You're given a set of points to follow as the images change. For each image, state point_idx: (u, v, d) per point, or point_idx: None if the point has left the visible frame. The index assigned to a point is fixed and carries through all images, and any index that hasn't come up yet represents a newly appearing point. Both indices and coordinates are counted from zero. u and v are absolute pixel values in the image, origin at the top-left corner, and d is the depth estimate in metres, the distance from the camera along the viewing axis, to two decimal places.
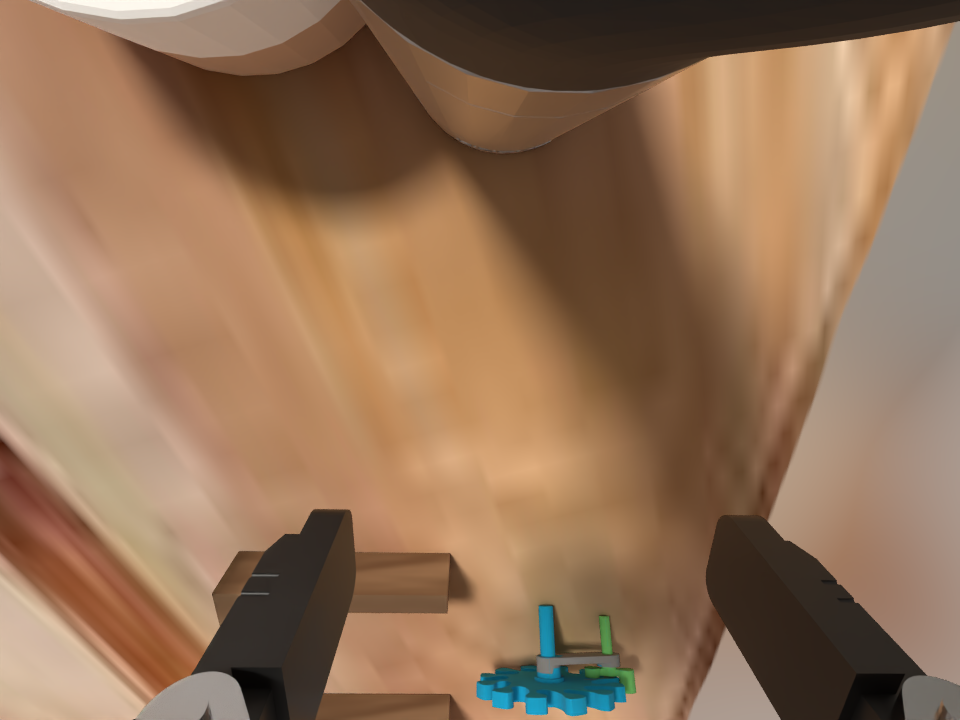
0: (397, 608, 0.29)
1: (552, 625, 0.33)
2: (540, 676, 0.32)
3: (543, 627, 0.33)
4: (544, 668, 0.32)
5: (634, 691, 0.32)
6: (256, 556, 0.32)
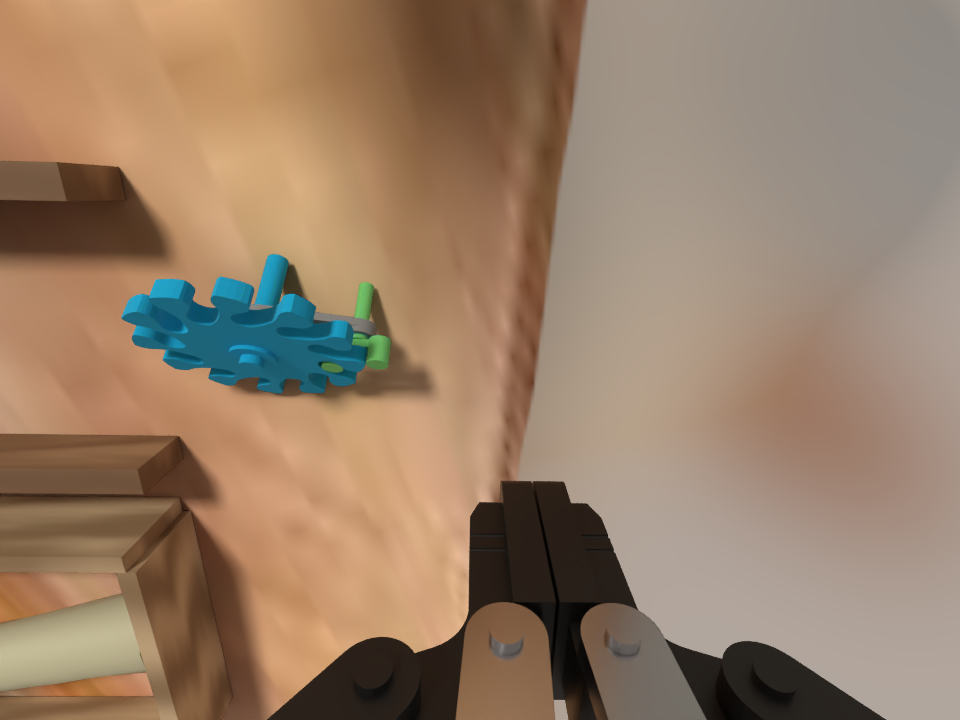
0: None
1: (278, 277, 0.23)
2: None
3: (263, 277, 0.23)
4: None
5: (383, 359, 0.22)
6: None
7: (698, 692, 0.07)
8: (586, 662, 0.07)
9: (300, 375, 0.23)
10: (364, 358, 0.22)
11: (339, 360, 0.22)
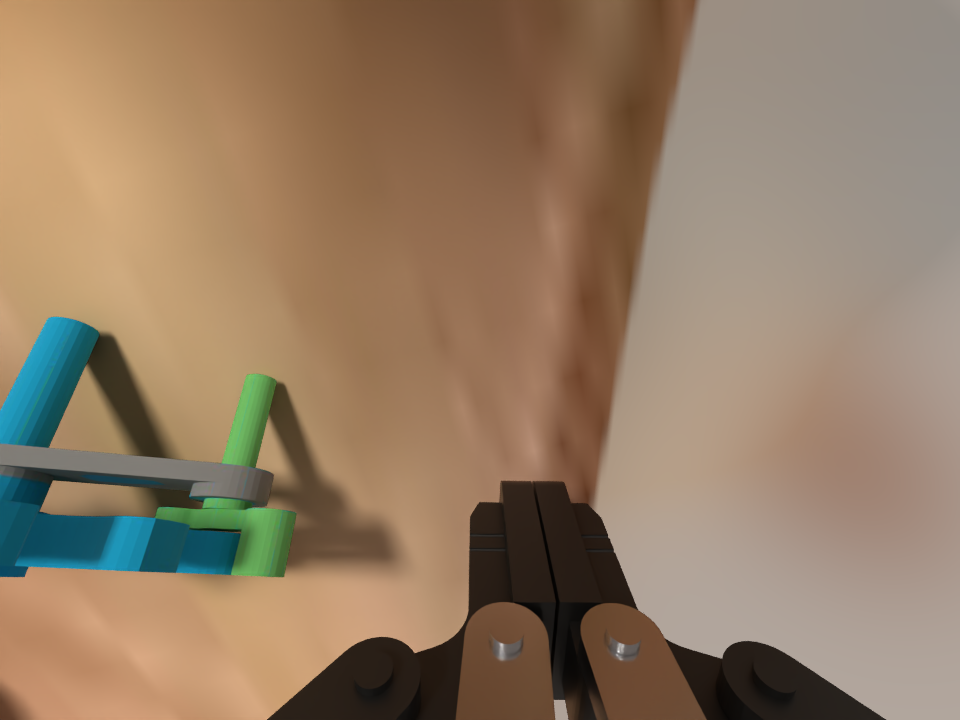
0: None
1: (58, 367, 0.11)
2: None
3: (22, 368, 0.10)
4: None
5: (267, 571, 0.10)
6: None
7: (698, 692, 0.07)
8: (586, 662, 0.07)
9: None
10: (229, 561, 0.10)
11: None
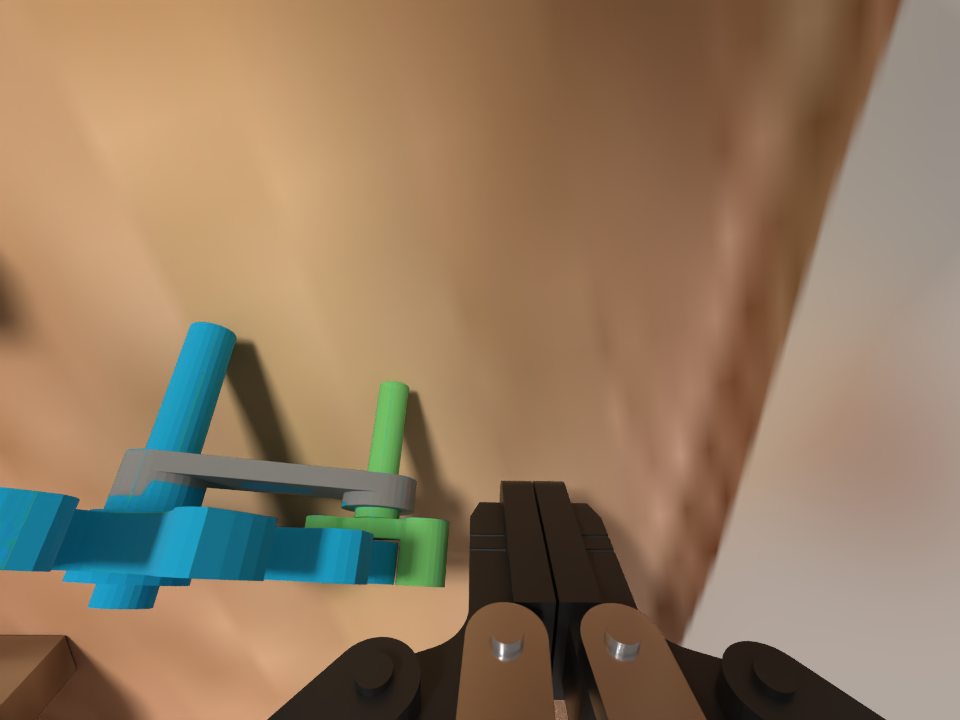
0: None
1: (208, 373, 0.11)
2: (104, 507, 0.09)
3: (174, 374, 0.10)
4: (121, 480, 0.09)
5: (435, 581, 0.09)
6: None
7: (698, 692, 0.07)
8: (586, 662, 0.07)
9: None
10: (391, 570, 0.10)
11: None
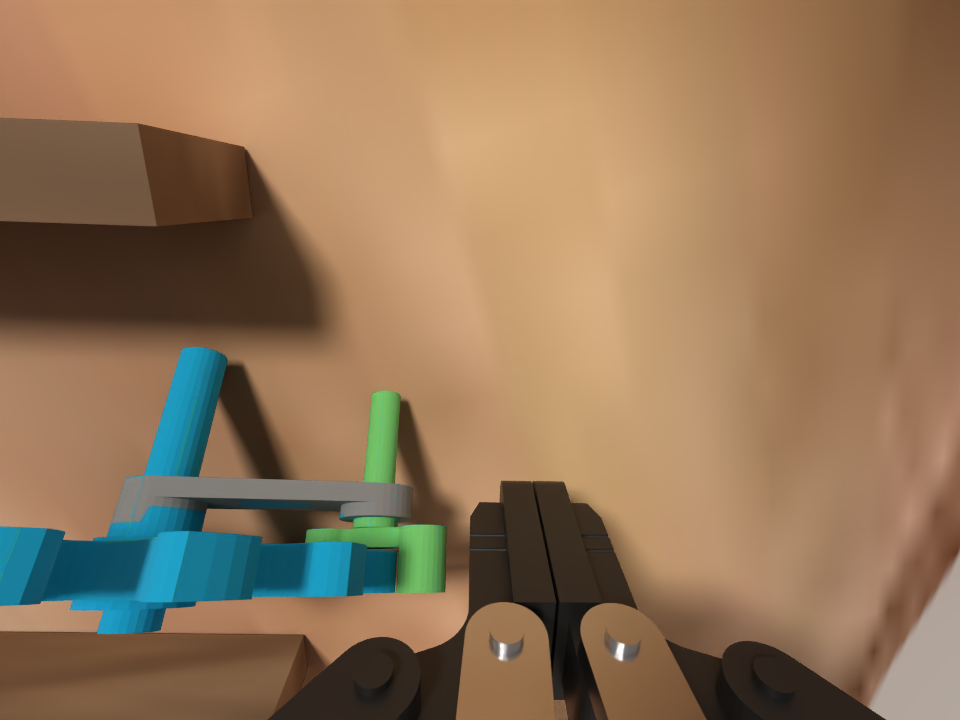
0: None
1: (201, 396, 0.11)
2: (107, 535, 0.09)
3: (167, 400, 0.11)
4: (121, 507, 0.09)
5: (434, 587, 0.10)
6: None
7: (698, 692, 0.07)
8: (586, 662, 0.07)
9: None
10: (391, 578, 0.10)
11: None
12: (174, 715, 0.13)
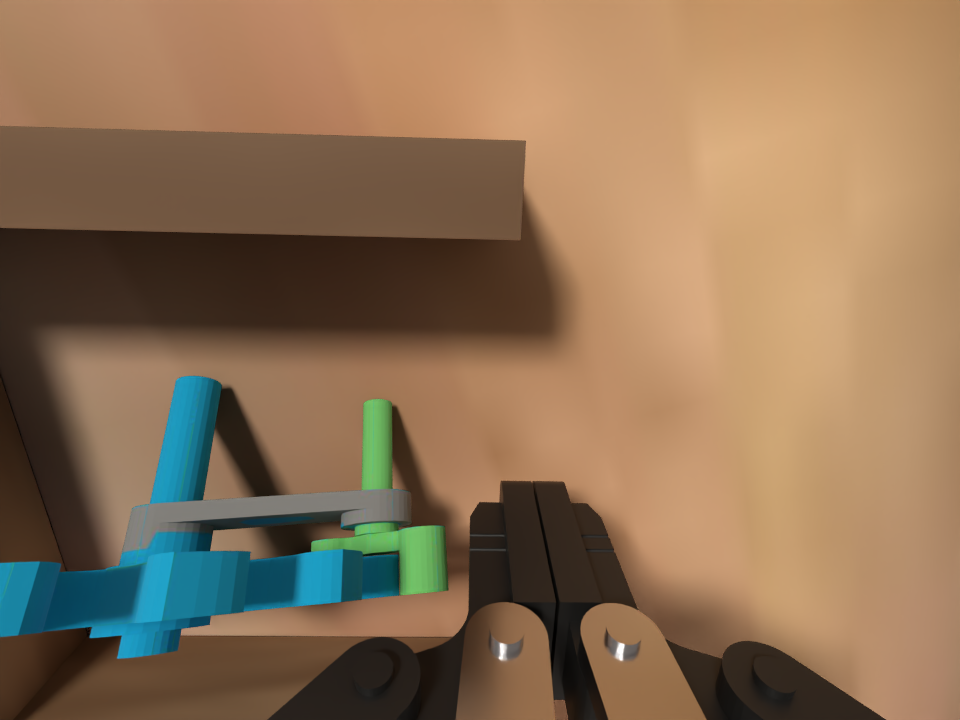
0: (327, 209, 0.08)
1: (197, 423, 0.11)
2: (119, 564, 0.10)
3: (166, 430, 0.11)
4: (130, 536, 0.10)
5: (435, 586, 0.10)
6: None
7: (698, 692, 0.07)
8: (586, 662, 0.07)
9: None
10: (394, 582, 0.10)
11: None
12: None
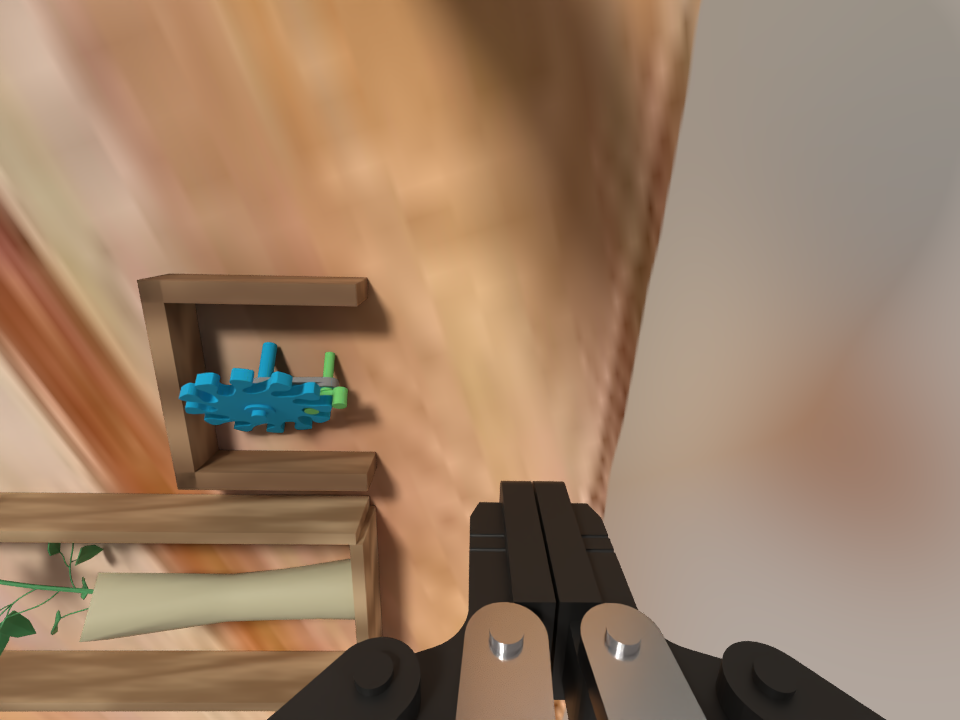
0: (310, 299, 0.32)
1: (271, 356, 0.35)
2: None
3: (261, 358, 0.35)
4: None
5: (342, 402, 0.33)
6: (185, 275, 0.34)
7: (698, 692, 0.07)
8: (586, 662, 0.07)
9: (292, 418, 0.35)
10: (330, 402, 0.34)
11: (314, 406, 0.34)
12: (335, 467, 0.36)
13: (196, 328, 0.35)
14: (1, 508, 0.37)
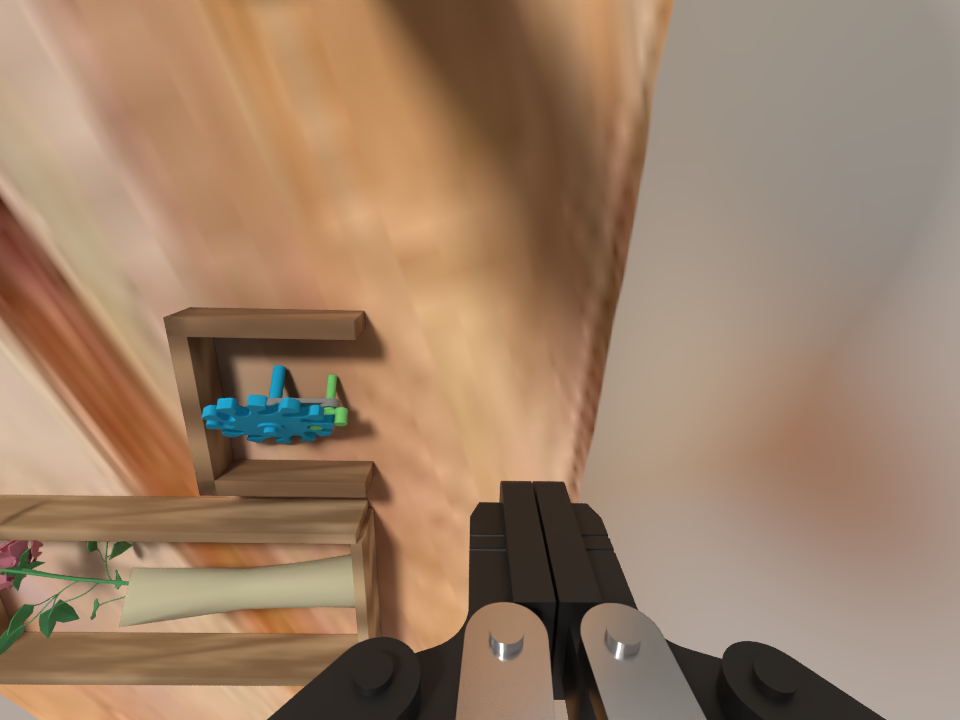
0: (314, 334, 0.36)
1: (280, 378, 0.40)
2: None
3: (272, 380, 0.39)
4: None
5: (342, 421, 0.38)
6: (203, 309, 0.38)
7: (698, 692, 0.07)
8: (586, 662, 0.07)
9: (299, 433, 0.40)
10: (333, 421, 0.39)
11: (318, 424, 0.38)
12: (337, 475, 0.41)
13: (213, 354, 0.40)
14: (44, 510, 0.43)
